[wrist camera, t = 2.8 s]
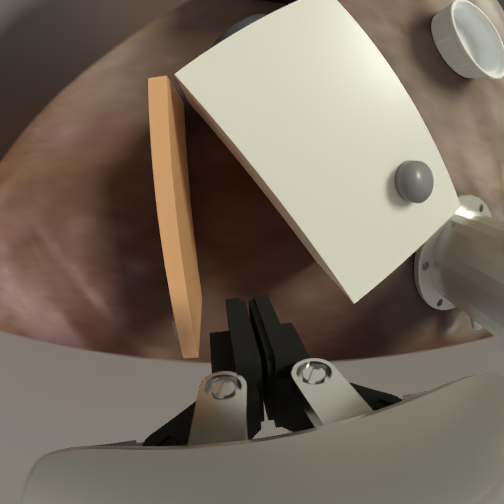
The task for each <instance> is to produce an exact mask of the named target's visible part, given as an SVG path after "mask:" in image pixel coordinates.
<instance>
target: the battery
mask: <svg viewBox="0 0 504 504" xmlns="http://www.w3.org/2000/svg"><path fill="white" fill-rule="evenodd" d="M269 1H277V2H283V3H290V4H291V3H293V2H295V1H297V0H269Z"/></svg>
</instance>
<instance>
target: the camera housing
mask: <svg viewBox="0 0 504 504" xmlns="http://www.w3.org/2000/svg"><path fill="white" fill-rule="evenodd" d="M175 76H176V78H177V80H178V82H179V84H180V86H181V88H182V90H183V92H184V94H185V96H186V98H187V100H188V102H189V103H190V104H191V105H192V107H193V108H194V109H195V110H196V111H197V112H198V114H199V115H200V116H201V117H202V118H203V119H204V121H205V122H206V123H207V124H208V125H209V126H210V128H211V129H212V130H213V131H214V132H215V134H216V135H217V136H218V137H219V138H220V140H221V141H222V142H223V143H224V144H225V146H226V147H227V148H228V149H229V150H230V152H231V153H232V154H233V155H234V157H235V158H236V159H237V160H238V161H239V163H240V164H241V165H242V166H243V168H244V169H245V170H246V171H247V173H248V174H249V175H250V176H251V177H252V179H253V180H254V181H255V182H256V184H257V185H258V186H259V188H260V189H261V190H262V191H263V193H264V194H265V195H266V196H267V198H268V199H269V200H270V201H271V203H272V204H273V205H274V207H275V208H276V209H277V210H278V212H279V213H280V214H281V216H282V217H283V218H284V220H285V221H286V222H287V223H288V225H289V226H290V227H291V229H292V230H293V231H294V233H295V234H296V235H297V237H298V238H299V239H300V241H301V242H302V243H303V245H304V246H305V247H306V249H307V250H308V251H309V253H310V254H311V255H312V257H313V258H314V259H315V261H316V262H317V263H318V264H319V265H320V266H321V267H322V269H323V270H324V271H325V272H326V273H327V274H328V275H329V276H330V277H331V278H332V279H333V281H334V282H335V283H336V284H337V285H338V286H339V287H340V288H341V289H342V291H343V292H344V293H345V294H346V295H347V296H348V297H349V298H350V300H351V301H352V302H353V303H354V304H355V303H356V302H357V301H358V300H360V299H361V298H362V297H363V296H365V295H366V294H367V293H368V292H369V291H371V290H372V289H373V288H374V287H375V286H377V285H378V284H379V283H380V282H381V281H382V280H384V279H385V278H386V277H387V276H388V275H389V274H391V273H392V272H393V271H394V270H395V269H396V268H397V267H398V266H400V265H401V264H402V263H403V262H404V261H405V260H406V259H407V258H408V257H410V256H411V255H412V254H413V253H414V252H415V251H416V250H417V249H418V248H419V247H420V246H421V245H422V244H424V243H425V242H426V241H427V240H428V239H429V238H430V237H431V236H432V235H433V234H434V233H435V232H436V231H437V230H438V229H439V228H440V227H441V226H442V225H443V224H444V223H445V222H446V221H447V220H448V219H449V218H450V217H451V216H452V215H453V214H454V213H455V212H456V211H457V210H458V209H459V208H460V206H461V205H460V202H459V200H458V197H457V194H456V192H455V189H454V186H453V184H452V181H451V179H450V177H449V174H448V172H447V169H446V167H445V165H444V163H443V160H442V158H441V156H440V154H439V152H438V149H437V147H436V145H435V143H434V141H433V139H432V137H431V135H430V133H429V131H428V129H427V127H426V125H425V124H424V122H423V120H422V118H421V116H420V114H419V112H418V111H417V109H416V107H415V105H414V104H413V102H412V100H411V99H410V97H409V95H408V94H407V92H406V90H405V89H404V87H403V86H402V84H401V82H400V81H399V79H398V78H397V76H396V75H395V73H394V72H393V70H392V69H391V67H390V66H389V64H388V63H387V61H386V60H385V59H384V57H383V56H382V54H381V53H380V52H379V50H378V49H377V48H376V46H375V45H374V44H373V42H372V41H371V40H370V38H369V37H368V36H367V35H366V33H365V32H364V31H363V30H362V28H361V27H360V26H359V25H358V24H357V22H356V21H355V20H354V19H353V18H352V16H351V15H350V14H349V13H348V12H347V11H346V10H345V9H344V7H343V6H342V5H341V4H340V3H339V2H338V1H337V0H297V1H295V2H293V3H291V4H289V5H287V6H285V7H282V8H280V9H278V10H276V11H274V12H272V13H270V14H268V15H267V16H266V15H265V14H262V13H260V14H255V15H252V16H249V17H247V18H245V19H243V20H241V21H240V22H238V23H236V24H235V25H233V26H232V27H231V28H229V29H228V30H227V31H226V32H224V33H223V34H222V35H221V36H220V37H219V38H218V39H217V40H216V42H215V43H214V44H213V46H212V47H211V49H209V50H208V51H206V52H205V53H203V54H202V55H200V56H199V57H197V58H196V59H195V60H193V61H192V62H190V63H189V64H188V65H186V66H185V67H183V68H182V69H181V70H179V71H178V72H177V73H175Z"/></svg>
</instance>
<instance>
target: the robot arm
mask: <svg viewBox="0 0 504 504" xmlns="http://www.w3.org/2000/svg"><path fill="white" fill-rule="evenodd" d="M457 197H458V200H459V202H460V205H461V206H460V208H459V209H458V210H457V211H456V212H455V213H454V214H453V215H452V216H451V217H450V218H449V219H448V220H447V221H446V222H445V223H444V224H443V225H442V226H441V227H440V228H439V229H438V230H437V231H436V232H435V233H434V234H433V235H432V236H431V237H430V238H429V239H428V240H427V241H426V242H425V243H424V244H422V245H421V246H420V247H419V248H418V249H417V250H416V255H415V261H414V277H415V284H416V287H417V290H418V293H419V294H420V296H421V298H422V299H423V300H424V301H425V302H426V303H427V304H429V305H430V306H432V307H433V308H435V309H438V310H449V309H452V308H455V307H458V308H459V309H460V310H462V311H463V312H464V313H466V314H467V315H468V316H470V320H471V324H472V328H473V329H475V330H479V329H482V328H483V327H484V328H485V329H486V330H488V331H489V332H490V333H491V334H493V335H494V336H495V337H496V338H498V339H499V340H500V341H501V342H503V343H504V222H503V221H500V220H497V219H494V218H492V216H491V213H490V211H489V209H488V207H487V205H486V204H485V203H484V202H483V201H482V200H481V199H479V198H477V197H476V196H472V195H469V194H457ZM225 300H226V310H227V319H228V328H229V331H223V332H214V333H210V347H211V365H212V374H210V375H208V376H207V377H205V378H204V379H203V380H202V381H201V384H200V386H199V390H198V395H197V400H196V402H194V403H193V404H192V405H190V406H189V407H188V408H187V409H185V410H184V411H182V412H181V413H180V414H179V415H177V416H176V417H175V418H173V419H172V420H170V421H169V422H168V423H166V424H165V425H164V426H162V427H161V428H160V429H158V430H157V431H155V432H154V433H152V434H151V435H150V436H149V437H148V438H147V439H146V440H145V442H141V443H137V442H136V440H134V441H127V442H119V443H111V444H104V445H103V444H102V445H92V446H81V447H71V448H66V449H61V450H56V451H53V452H50V453H47V454H45V455H43V456H42V457H40V458H39V459H38V460H37V461H35V462H34V464H33V465H32V466H31V468H30V469H29V471H28V473H27V475H26V477H25V479H24V481H23V484H22V486H21V488H20V491H19V494H18V497H17V500H16V504H504V375H501V374H495V373H485V374H476V375H472V376H467V377H464V378H461V379H458V380H455V381H452V382H449V383H447V384H444V385H442V386H439V387H437V388H434V389H432V390H430V391H425V392H419V393H414V394H408V395H403V398H402V399H400V398H398V397H397V396H394V395H392V394H387V393H384V392H380V391H376V390H373V389H370V388H366V387H363V386H359V385H356V384H353V383H349V382H348V381H347V380H346V379H345V378H344V377H343V375H342V374H341V373H340V372H339V371H338V370H337V369H336V367H335V366H334V365H333V364H331V363H330V362H328V361H326V360H323V359H319V358H310V357H309V355H308V353H307V351H306V350H305V348H304V346H303V344H302V342H301V340H300V338H299V336H298V334H297V332H296V330H295V328H294V326H293V324H292V323H286V324H280V322H279V320H278V318H277V315H276V313H275V311H274V308H273V306H272V304H271V302H270V299H269V297H268V295H260V296H254V297H253V300H249V314H250V318H249V314H248V311H247V307H246V303H245V301H240V300H239V298H234V299H225ZM263 401H264V405H265V409H266V413H267V417H268V420H274V422H275V426H276V427H284V428H286V429H288V430H289V433H287V434H282V435H277V436H271V437H265V438H258V439H252V438H253V437H254V436H255V435H256V434H257V433H258V432H259V431H260V430H261V422H262V421H264V405H263Z"/></svg>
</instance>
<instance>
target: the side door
mask: <svg viewBox="0 0 504 504" xmlns="http://www.w3.org/2000/svg"><path fill="white" fill-rule="evenodd" d="M148 92H149V120H150V138H151V152H152V165H153V176H154V186H155V196H156V205H157V213H158V221H159V229H160V236H161V243H162V250H163V256H164V263H165V269H166V275H167V281H168V286H169V292H170V297H171V303H172V308H173V318H172V325H173V329H174V334H175V338H177V337H179V342H180V346H181V350H182V355H183V358H195V357H199V339H200V323H201V308H202V293H201V286H200V278H199V270H198V262H197V254H196V246H195V237H194V228H193V218H192V209H191V198H190V187H189V175H188V163H187V149H186V134H185V116H184V103H183V101H182V100H181V98H180V96H179V95H178V93H177V91H176V90H175V88H174V86H173V85H172V83H171V81H170V80H169V78H168V76H160V77H154V78H148Z"/></svg>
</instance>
